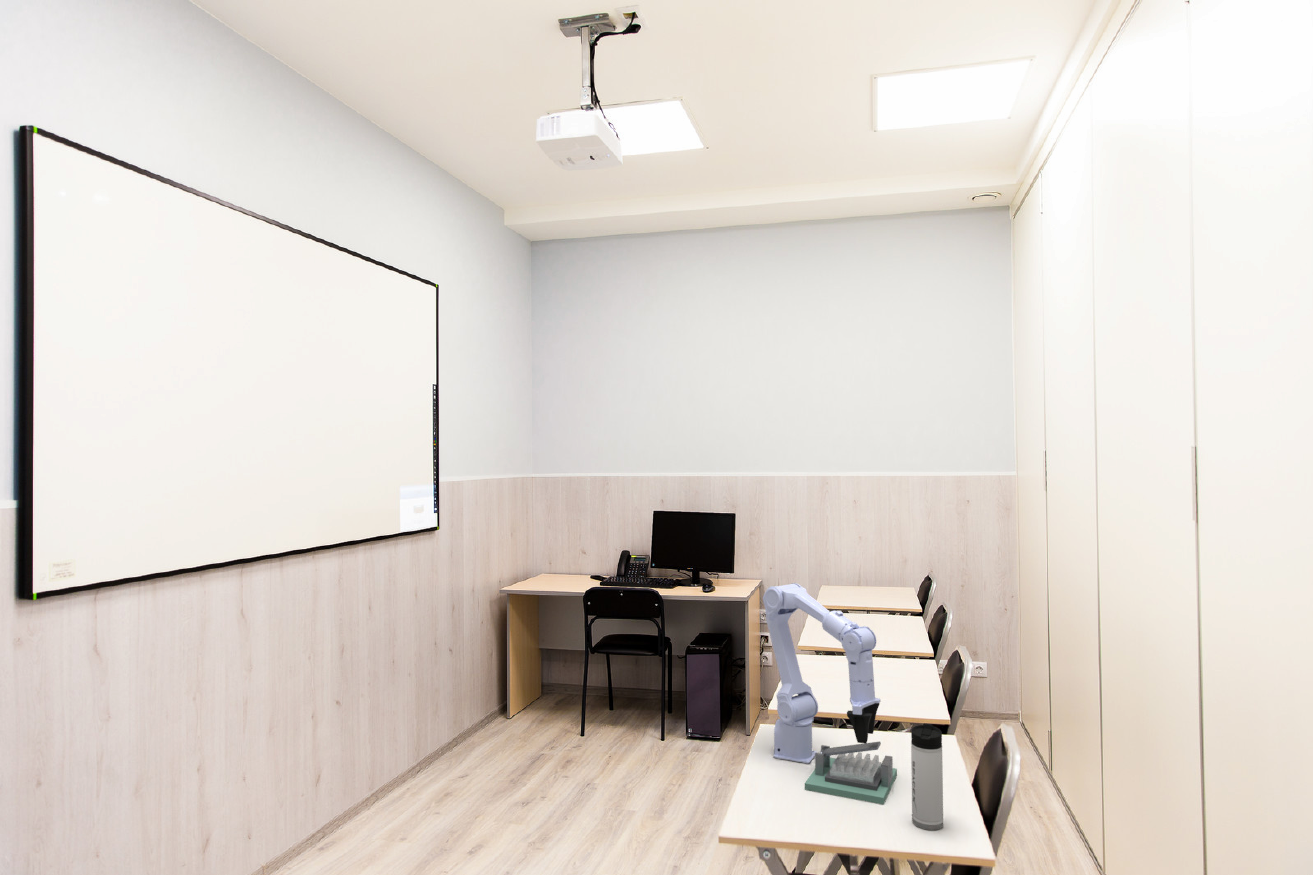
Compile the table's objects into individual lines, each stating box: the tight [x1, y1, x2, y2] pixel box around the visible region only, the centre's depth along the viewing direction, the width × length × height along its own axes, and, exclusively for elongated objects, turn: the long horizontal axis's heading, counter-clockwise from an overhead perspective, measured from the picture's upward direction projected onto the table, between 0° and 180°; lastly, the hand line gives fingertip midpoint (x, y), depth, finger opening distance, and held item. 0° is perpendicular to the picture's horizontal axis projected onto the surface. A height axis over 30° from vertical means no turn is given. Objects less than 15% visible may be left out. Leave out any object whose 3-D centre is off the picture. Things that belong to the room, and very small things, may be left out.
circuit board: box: [804, 757, 898, 805], centre depth 186 cm, size 18×18×2 cm
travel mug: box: [910, 722, 944, 831], centre depth 165 cm, size 6×7×20 cm
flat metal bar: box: [819, 741, 881, 757], centre depth 187 cm, size 14×4×1 cm, turn 64°
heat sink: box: [814, 744, 894, 787], centre depth 186 cm, size 17×10×5 cm, turn 64°
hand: (865, 737), depth 185 cm, fingers open, 7 cm apart
